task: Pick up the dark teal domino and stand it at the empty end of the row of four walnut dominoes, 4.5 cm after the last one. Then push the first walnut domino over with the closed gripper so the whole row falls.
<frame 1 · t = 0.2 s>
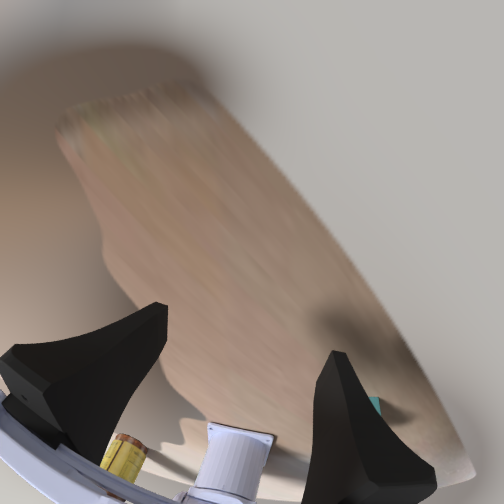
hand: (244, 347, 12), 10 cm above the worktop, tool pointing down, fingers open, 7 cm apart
sauce bottle: (134, 441, 39), on the worktop
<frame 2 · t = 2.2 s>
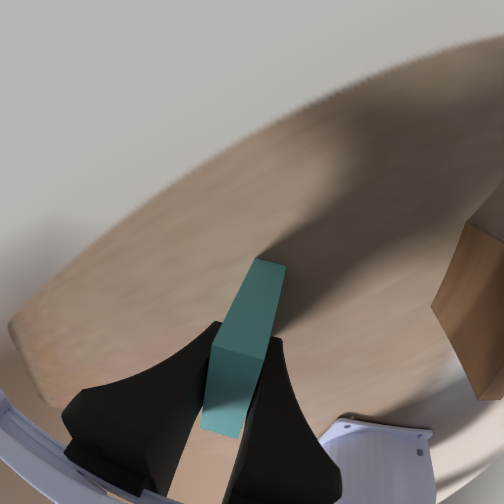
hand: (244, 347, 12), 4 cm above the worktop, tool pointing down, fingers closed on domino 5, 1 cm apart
domino 4: (459, 269, 12), on the worktop
domino 5: (261, 301, 16), on the worktop, touching gripper
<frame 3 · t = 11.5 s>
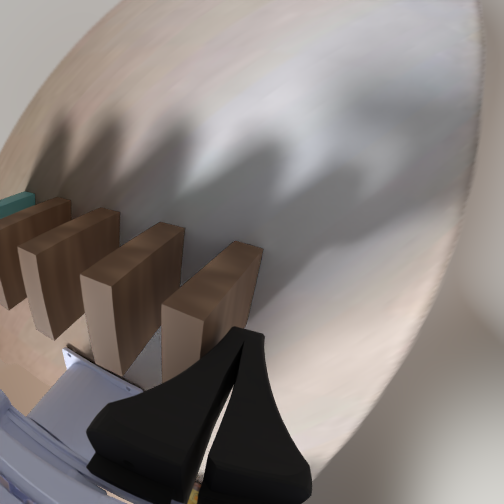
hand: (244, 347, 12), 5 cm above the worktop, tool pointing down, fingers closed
sauce bottle: (188, 481, 31), on the worktop
domino 4: (64, 231, 18), on the worktop
domino 2: (169, 264, 17), on the worktop
domino 1: (241, 285, 16), on the worktop, tilted 7°
domino 3: (109, 246, 17), on the worktop
domino 5: (31, 222, 18), on the worktop
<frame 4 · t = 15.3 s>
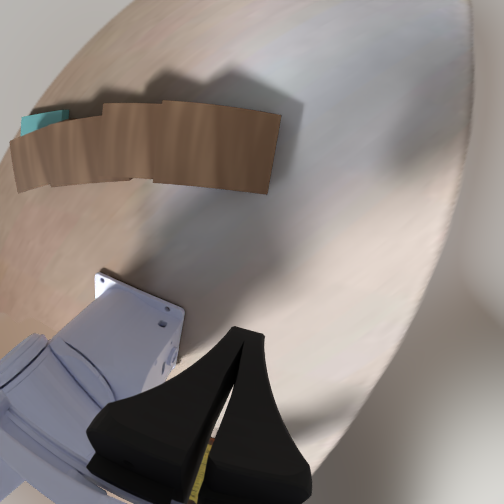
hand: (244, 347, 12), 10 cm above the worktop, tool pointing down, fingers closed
sauce bottle: (212, 443, 33), on the worktop
domino 4: (76, 146, 19), point 1 cm above the worktop, tilted 72°, touching domino 3
domino 2: (202, 144, 18), point 1 cm above the worktop, tilted 72°, touching domino 1, domino 3
domino 1: (271, 153, 17), point 1 cm above the worktop, tilted 71°, touching domino 2
domino 3: (131, 145, 19), point 1 cm above the worktop, tilted 72°, touching domino 2, domino 4
domino 5: (66, 136, 20), on the worktop, tilted 90°
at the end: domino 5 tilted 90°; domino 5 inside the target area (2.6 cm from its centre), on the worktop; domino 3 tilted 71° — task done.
